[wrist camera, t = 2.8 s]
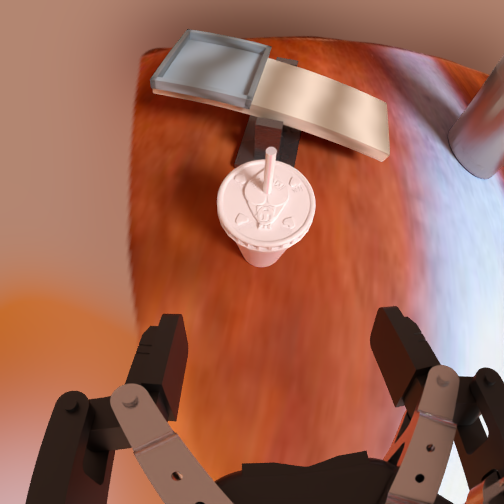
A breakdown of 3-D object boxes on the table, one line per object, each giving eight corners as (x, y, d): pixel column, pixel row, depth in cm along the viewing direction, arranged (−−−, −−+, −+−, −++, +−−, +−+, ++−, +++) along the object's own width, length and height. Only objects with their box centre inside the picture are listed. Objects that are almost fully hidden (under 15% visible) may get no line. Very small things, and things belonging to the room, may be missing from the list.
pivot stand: (307, 93, 34) (314, 58, 29) (291, 179, 30) (299, 144, 25) (262, 84, 35) (263, 49, 29) (234, 168, 31) (231, 131, 25)
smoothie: (296, 218, 29) (328, 120, 16) (294, 284, 27) (336, 222, 14) (229, 214, 29) (216, 112, 16) (223, 279, 27) (198, 213, 14)
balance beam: (380, 106, 30) (390, 92, 28) (382, 167, 28) (396, 154, 25) (184, 46, 28) (185, 28, 25) (149, 98, 25) (147, 79, 23)
